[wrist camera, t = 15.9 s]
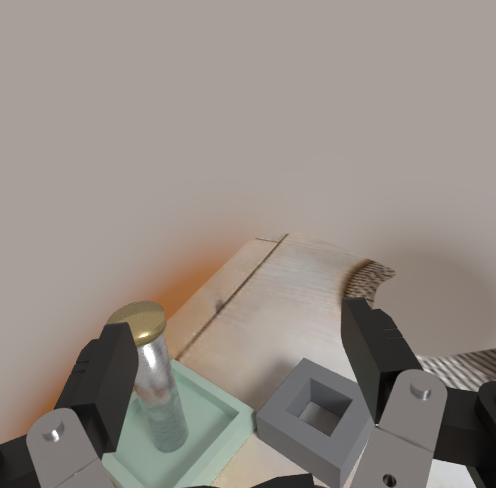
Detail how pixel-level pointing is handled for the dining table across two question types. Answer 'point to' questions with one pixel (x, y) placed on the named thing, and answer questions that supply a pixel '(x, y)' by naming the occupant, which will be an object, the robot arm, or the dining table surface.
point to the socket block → (309, 438)
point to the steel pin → (155, 375)
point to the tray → (195, 448)
